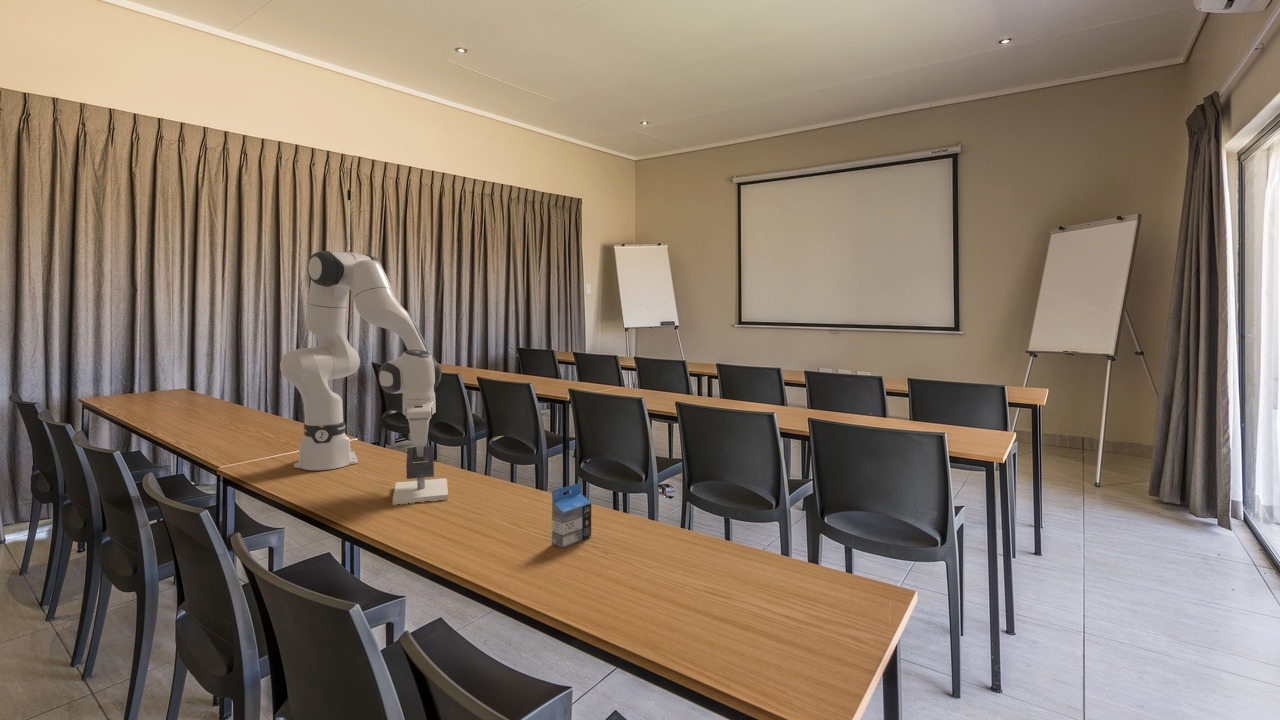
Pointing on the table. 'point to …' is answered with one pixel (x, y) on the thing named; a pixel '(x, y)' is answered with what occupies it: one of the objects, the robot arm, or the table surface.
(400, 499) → the keeper plate
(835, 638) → the table surface
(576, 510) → the label tape cartridge
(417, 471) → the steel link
